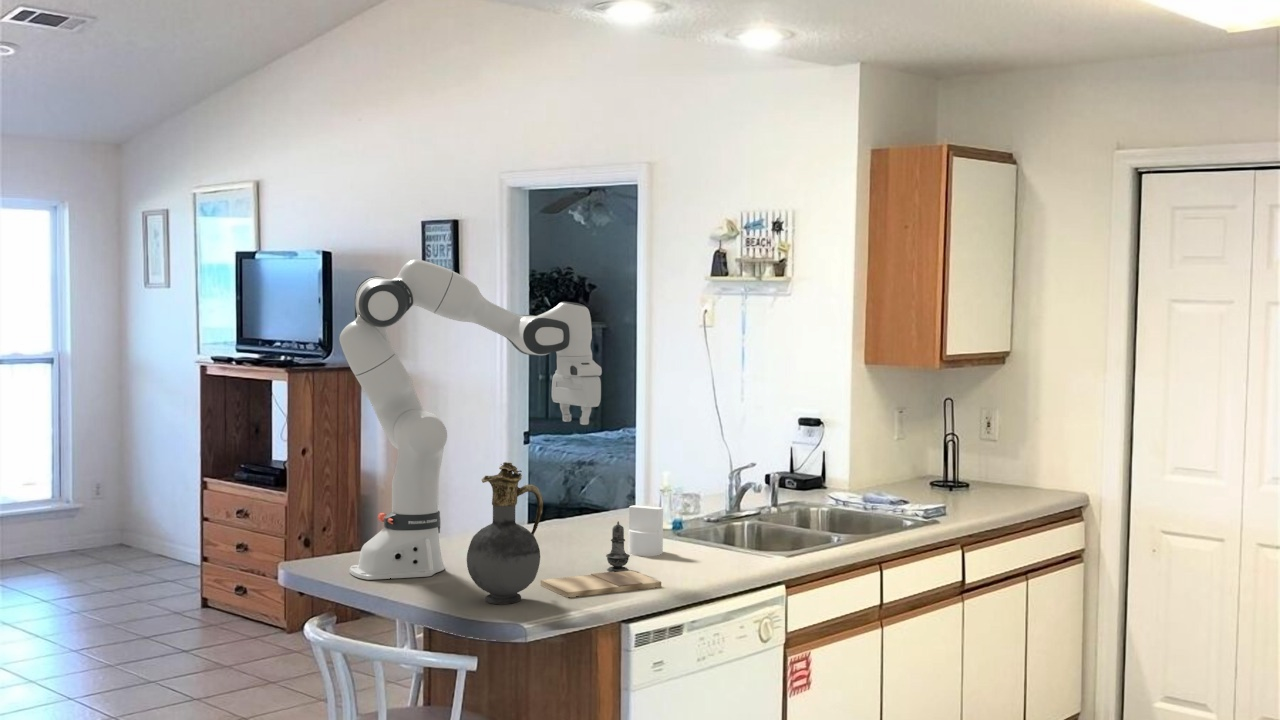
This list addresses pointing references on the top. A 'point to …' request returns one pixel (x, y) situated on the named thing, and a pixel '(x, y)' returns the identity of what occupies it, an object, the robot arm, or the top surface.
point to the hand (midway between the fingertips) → (575, 422)
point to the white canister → (645, 530)
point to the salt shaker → (617, 550)
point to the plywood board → (600, 583)
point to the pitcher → (505, 542)
